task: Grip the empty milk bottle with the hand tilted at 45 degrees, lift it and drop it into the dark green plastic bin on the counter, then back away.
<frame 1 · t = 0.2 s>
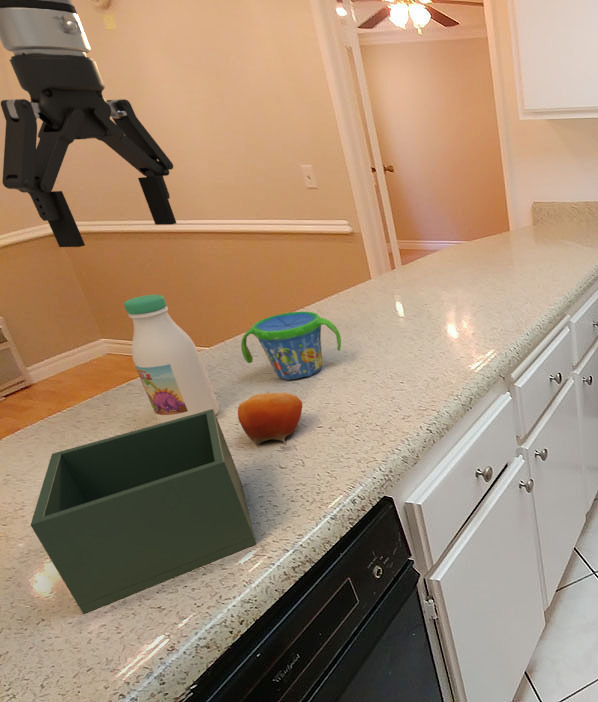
hand: (123, 234, 75), 30 cm above the countertop, tool pointing down, fingers open, 13 cm apart
snack cup: (301, 373, 103), on the countertop
milk bottle: (191, 419, 89), on the countertop
bin: (173, 538, 63), on the countertop
fruit: (278, 435, 83), on the countertop
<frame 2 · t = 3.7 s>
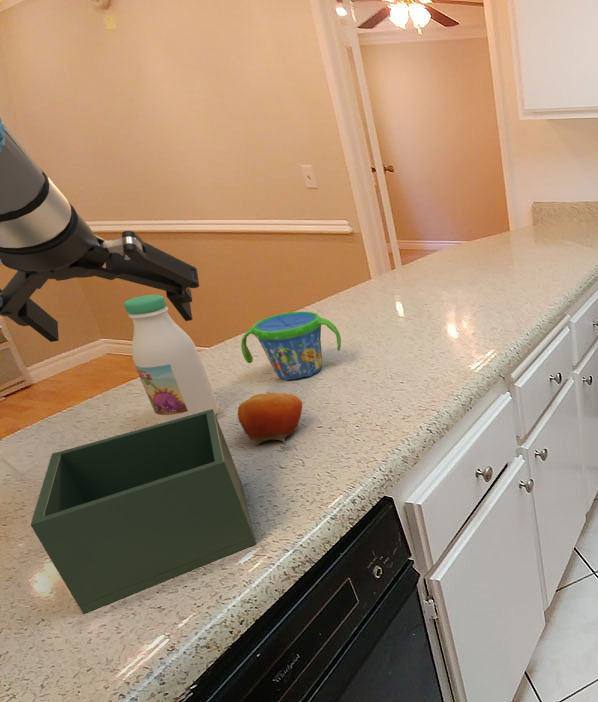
hand: (123, 321, 72), 20 cm above the countertop, tool tilted 45°, fingers open, 13 cm apart
nothing on the countertop moved.
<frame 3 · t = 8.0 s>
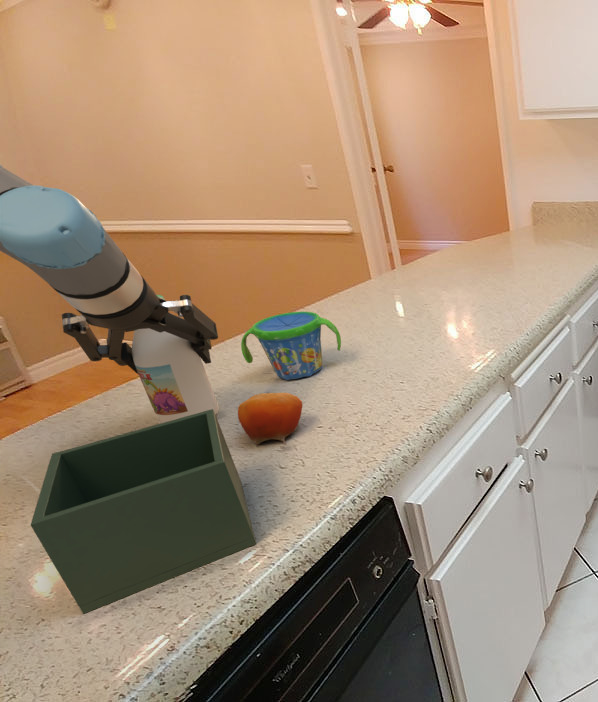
hand: (175, 361, 88), 9 cm above the countertop, tool tilted 45°, fingers closed on milk bottle, 8 cm apart
milk bottle: (191, 419, 89), on the countertop, touching gripper
everything else where it was.
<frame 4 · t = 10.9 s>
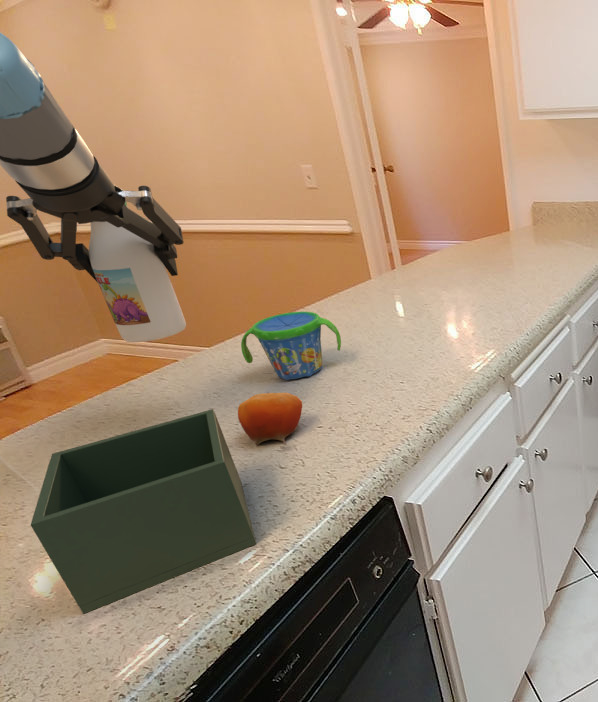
hand: (138, 272, 82), 23 cm above the countertop, tool tilted 45°, fingers closed on milk bottle, 8 cm apart
milk bottle: (156, 335, 83), point 14 cm above the countertop, touching gripper
everything else where it was.
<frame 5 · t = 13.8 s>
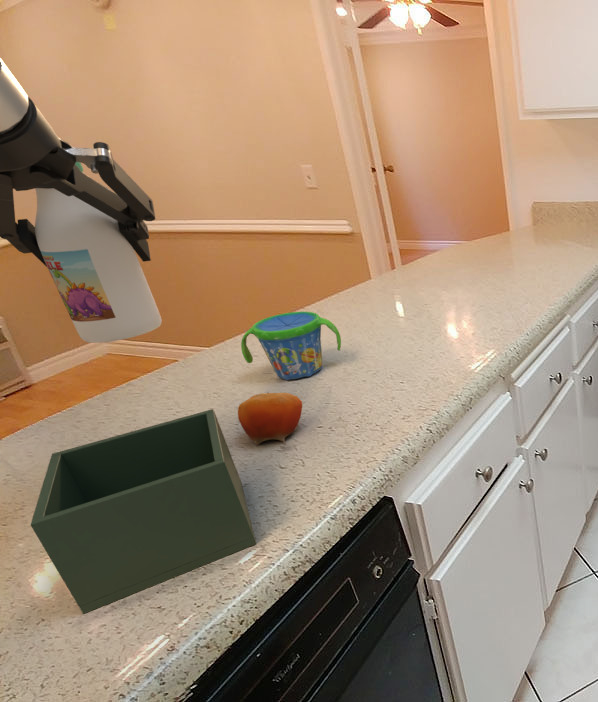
hand: (102, 257, 67), 29 cm above the countertop, tool tilted 45°, fingers closed on milk bottle, 8 cm apart
milk bottle: (124, 333, 68), point 20 cm above the countertop, touching gripper
everything else where it was.
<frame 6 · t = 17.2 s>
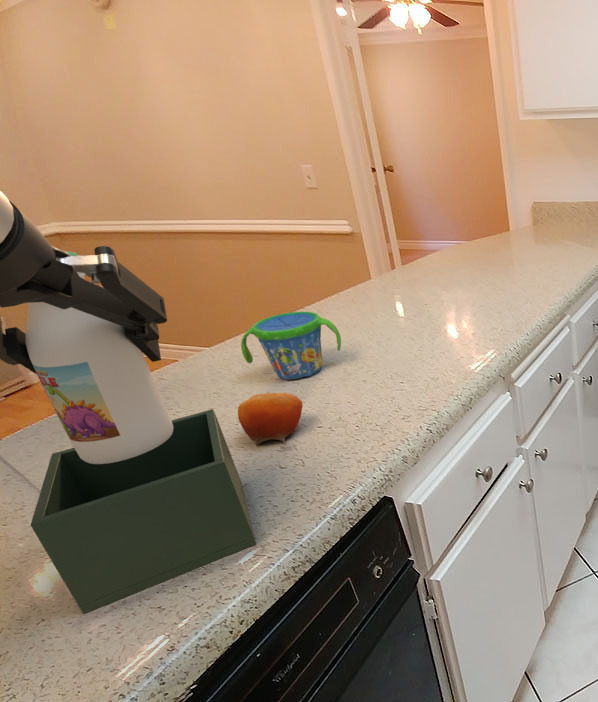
hand: (105, 358, 57), 21 cm above the countertop, tool tilted 45°, fingers closed on milk bottle, 8 cm apart
milk bottle: (131, 446, 58), point 12 cm above the countertop, touching gripper
everything else where it was.
when the fingers open (13 cm above the countertop, at t = 19.9 s): milk bottle drops 3 cm, resting on bin.
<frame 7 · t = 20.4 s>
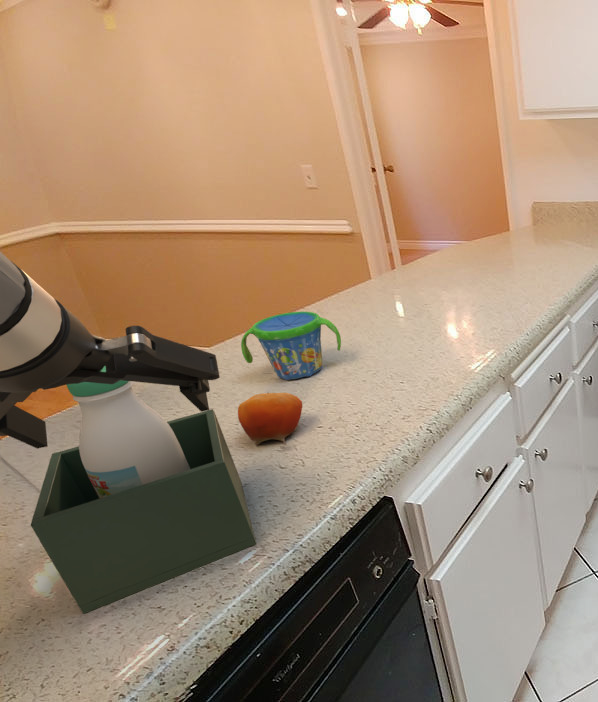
hand: (126, 416, 59), 15 cm above the countertop, tool tilted 45°, fingers open, 13 cm apart
milk bottle: (170, 533, 63), point 1 cm above the countertop, touching bin
everything else where it was.
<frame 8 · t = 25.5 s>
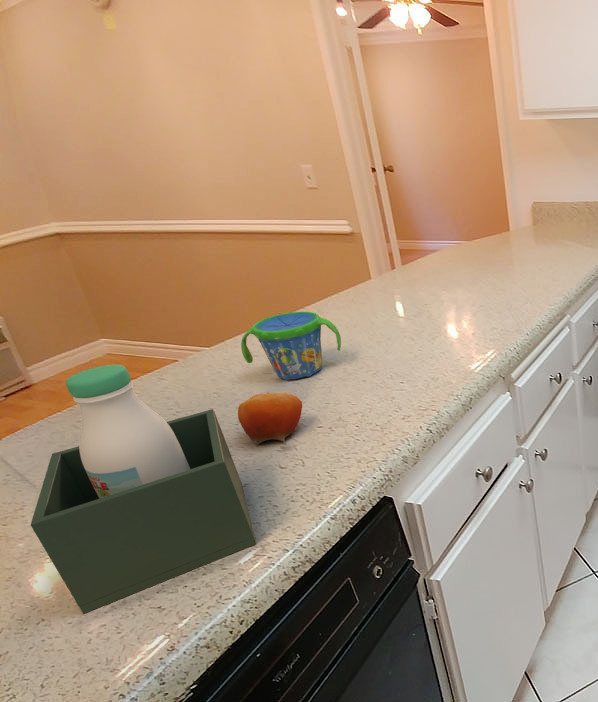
nothing on the countertop moved.
at the end: milk bottle inside the target area in the bin (0.1 cm from its centre), point 0.8 cm above the bin's base; the gripper is holding nothing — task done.
